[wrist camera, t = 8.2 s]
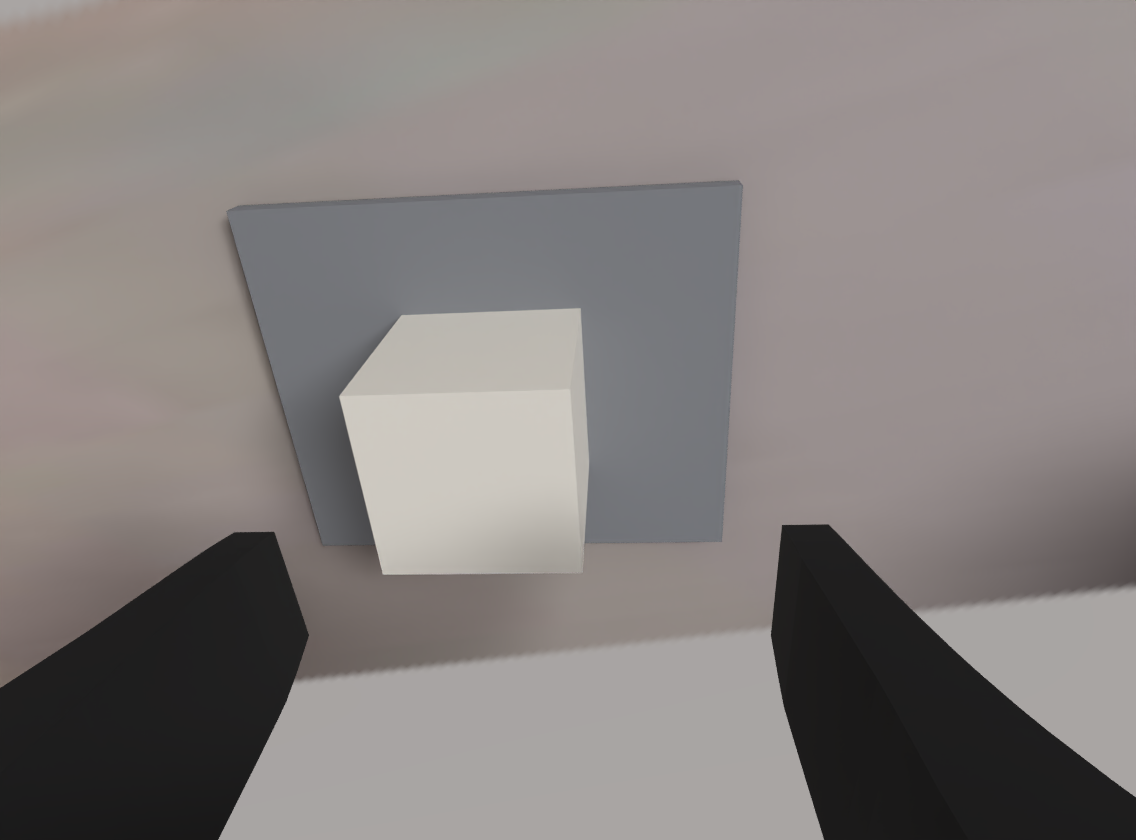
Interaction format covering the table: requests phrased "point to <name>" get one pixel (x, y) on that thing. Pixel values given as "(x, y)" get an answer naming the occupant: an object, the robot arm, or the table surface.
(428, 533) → the cream cube
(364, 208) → the gray mat
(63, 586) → the table surface
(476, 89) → the table surface
